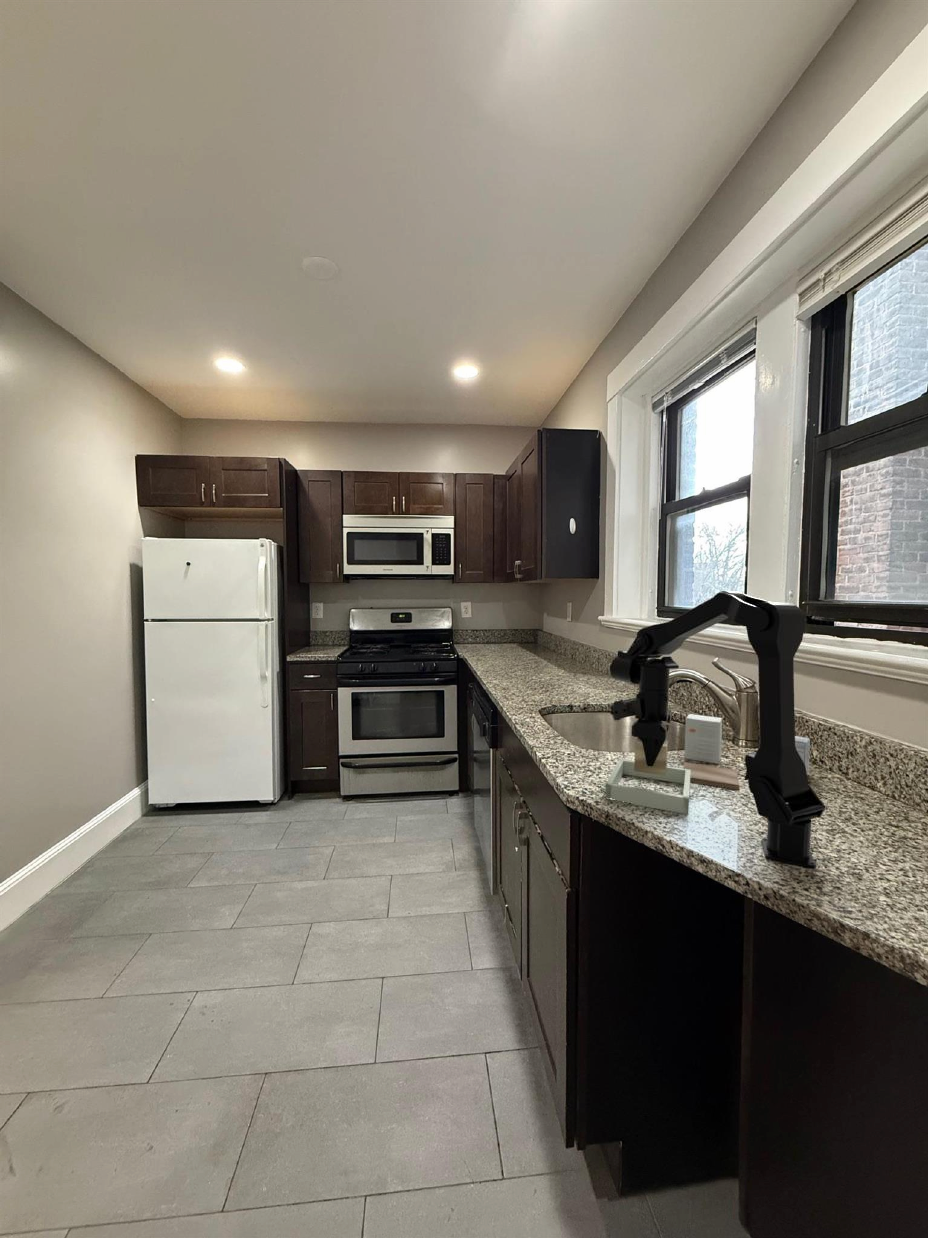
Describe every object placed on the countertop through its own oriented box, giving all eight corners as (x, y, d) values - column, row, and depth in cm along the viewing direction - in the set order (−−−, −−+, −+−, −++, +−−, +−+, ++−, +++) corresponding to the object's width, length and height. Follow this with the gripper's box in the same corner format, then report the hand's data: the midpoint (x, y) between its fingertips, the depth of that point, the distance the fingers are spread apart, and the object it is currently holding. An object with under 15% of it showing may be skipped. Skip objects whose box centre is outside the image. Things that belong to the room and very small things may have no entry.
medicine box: (809, 775, 117) (811, 738, 117) (805, 780, 114) (807, 742, 114) (770, 766, 123) (771, 731, 122) (765, 771, 119) (767, 735, 119)
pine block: (665, 775, 101) (666, 746, 101) (634, 771, 104) (635, 742, 104) (666, 769, 105) (667, 741, 105) (636, 764, 108) (637, 737, 108)
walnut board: (739, 789, 107) (739, 785, 107) (682, 780, 111) (683, 776, 111) (736, 774, 117) (736, 769, 117) (684, 766, 121) (684, 762, 121)
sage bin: (688, 814, 94) (688, 798, 93) (605, 799, 100) (606, 784, 100) (690, 783, 110) (690, 769, 110) (618, 771, 116) (619, 759, 116)
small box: (721, 758, 128) (723, 717, 127) (718, 764, 123) (720, 722, 123) (687, 753, 132) (688, 713, 132) (683, 758, 127) (685, 717, 127)
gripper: (620, 678, 116) (617, 745, 116) (606, 691, 99) (603, 769, 100) (672, 683, 111) (669, 753, 112) (667, 697, 94) (663, 779, 95)
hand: (650, 762), depth 105 cm, fingers closed on pine block, 4 cm apart
